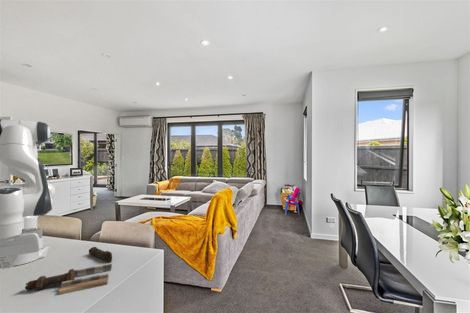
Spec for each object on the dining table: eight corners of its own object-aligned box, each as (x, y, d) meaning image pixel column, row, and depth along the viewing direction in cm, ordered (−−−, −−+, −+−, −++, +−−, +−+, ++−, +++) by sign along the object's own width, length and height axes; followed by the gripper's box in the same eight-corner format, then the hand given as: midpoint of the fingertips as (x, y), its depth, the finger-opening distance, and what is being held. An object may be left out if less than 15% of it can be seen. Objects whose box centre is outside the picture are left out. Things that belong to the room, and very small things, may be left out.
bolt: (27, 294, 85) (74, 284, 91) (22, 294, 81) (70, 283, 87) (30, 278, 87) (75, 269, 93) (25, 277, 83) (72, 268, 89)
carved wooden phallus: (88, 255, 115) (88, 246, 115) (96, 252, 119) (96, 244, 119) (105, 265, 105) (105, 255, 105) (114, 262, 108) (114, 252, 108)
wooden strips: (71, 273, 97) (71, 267, 97) (112, 266, 103) (112, 260, 103) (58, 294, 82) (58, 287, 82) (107, 284, 88) (107, 278, 88)
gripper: (45, 225, 89) (45, 258, 89) (-24, 232, 81) (-24, 269, 80) (39, 229, 83) (38, 265, 83) (-36, 237, 75) (-37, 277, 75)
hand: (7, 267), depth 81 cm, fingers closed
